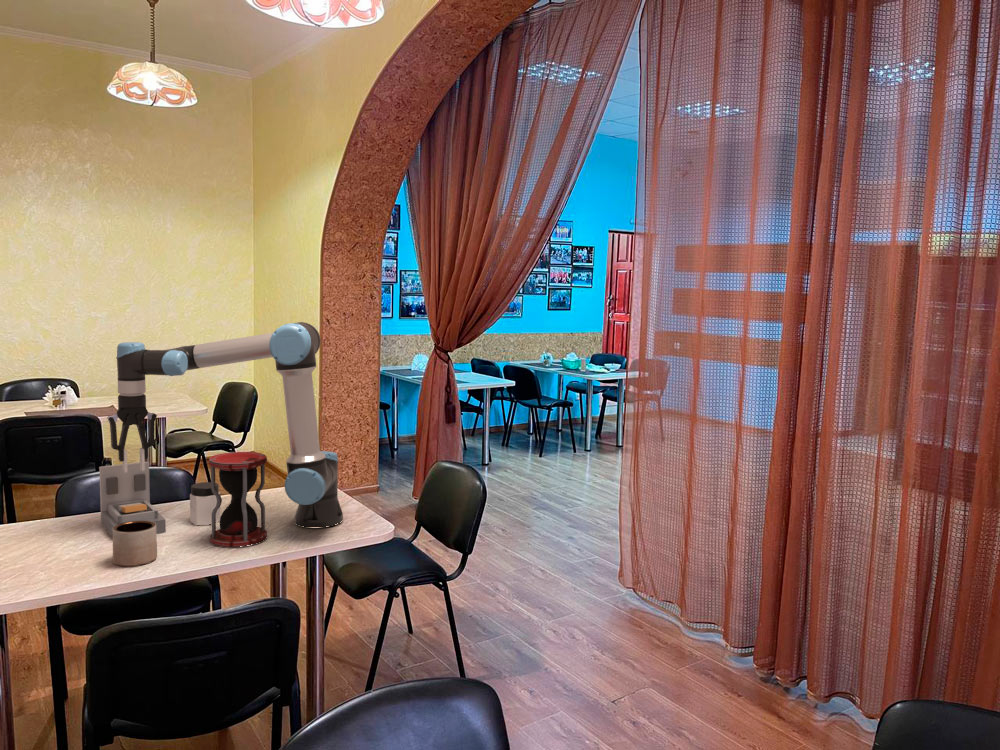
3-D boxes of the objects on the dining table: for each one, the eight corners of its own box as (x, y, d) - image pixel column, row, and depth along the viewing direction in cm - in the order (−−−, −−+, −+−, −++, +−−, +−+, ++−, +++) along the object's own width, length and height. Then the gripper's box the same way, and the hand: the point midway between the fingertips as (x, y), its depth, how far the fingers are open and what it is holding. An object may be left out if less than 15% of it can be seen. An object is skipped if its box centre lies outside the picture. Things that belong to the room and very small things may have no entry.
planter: (107, 559, 207) (106, 525, 206) (148, 550, 215) (147, 517, 214) (121, 570, 200) (120, 535, 199) (163, 561, 207) (162, 527, 206)
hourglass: (217, 551, 216) (216, 465, 213) (204, 535, 229) (203, 454, 226) (274, 542, 225) (273, 459, 222) (258, 527, 238) (257, 449, 235)
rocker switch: (147, 510, 232) (147, 504, 232) (124, 513, 228) (124, 507, 228) (139, 508, 240) (139, 502, 240) (117, 511, 236) (117, 505, 236)
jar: (186, 521, 242) (185, 484, 241) (211, 516, 248) (210, 480, 247) (199, 528, 236) (198, 490, 235) (224, 522, 242) (223, 485, 241)
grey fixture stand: (165, 532, 231) (164, 474, 229) (115, 540, 222) (113, 480, 220) (148, 515, 247) (147, 461, 245) (101, 523, 238) (99, 466, 236)
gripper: (159, 390, 236) (160, 464, 238) (97, 394, 225) (99, 471, 228) (165, 393, 230) (167, 469, 232) (102, 397, 219) (104, 476, 222)
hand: (133, 470), depth 230 cm, fingers open, 4 cm apart
